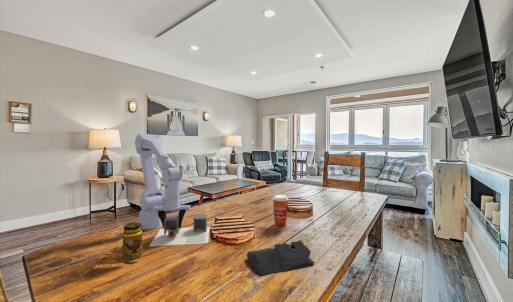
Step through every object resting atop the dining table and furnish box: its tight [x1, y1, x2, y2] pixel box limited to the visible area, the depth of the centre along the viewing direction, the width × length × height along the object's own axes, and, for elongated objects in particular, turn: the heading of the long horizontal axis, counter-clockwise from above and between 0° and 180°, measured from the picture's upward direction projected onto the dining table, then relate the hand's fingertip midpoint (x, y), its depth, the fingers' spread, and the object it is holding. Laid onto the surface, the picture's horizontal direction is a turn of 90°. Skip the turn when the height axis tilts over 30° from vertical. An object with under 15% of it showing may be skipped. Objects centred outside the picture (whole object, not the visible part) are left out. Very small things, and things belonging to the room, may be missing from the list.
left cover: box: [164, 214, 180, 234], centre depth 98 cm, size 6×6×6 cm
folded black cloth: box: [246, 240, 316, 277], centre depth 81 cm, size 15×22×5 cm
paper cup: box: [272, 194, 289, 228], centre depth 115 cm, size 8×8×14 cm
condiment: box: [122, 221, 144, 265], centre depth 82 cm, size 7×8×12 cm
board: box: [148, 225, 211, 248], centre depth 99 cm, size 22×18×1 cm
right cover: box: [193, 213, 208, 232], centre depth 105 cm, size 6×6×6 cm
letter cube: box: [168, 227, 177, 238], centre depth 98 cm, size 3×3×3 cm
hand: (172, 228), depth 98 cm, fingers closed on left cover, 5 cm apart
